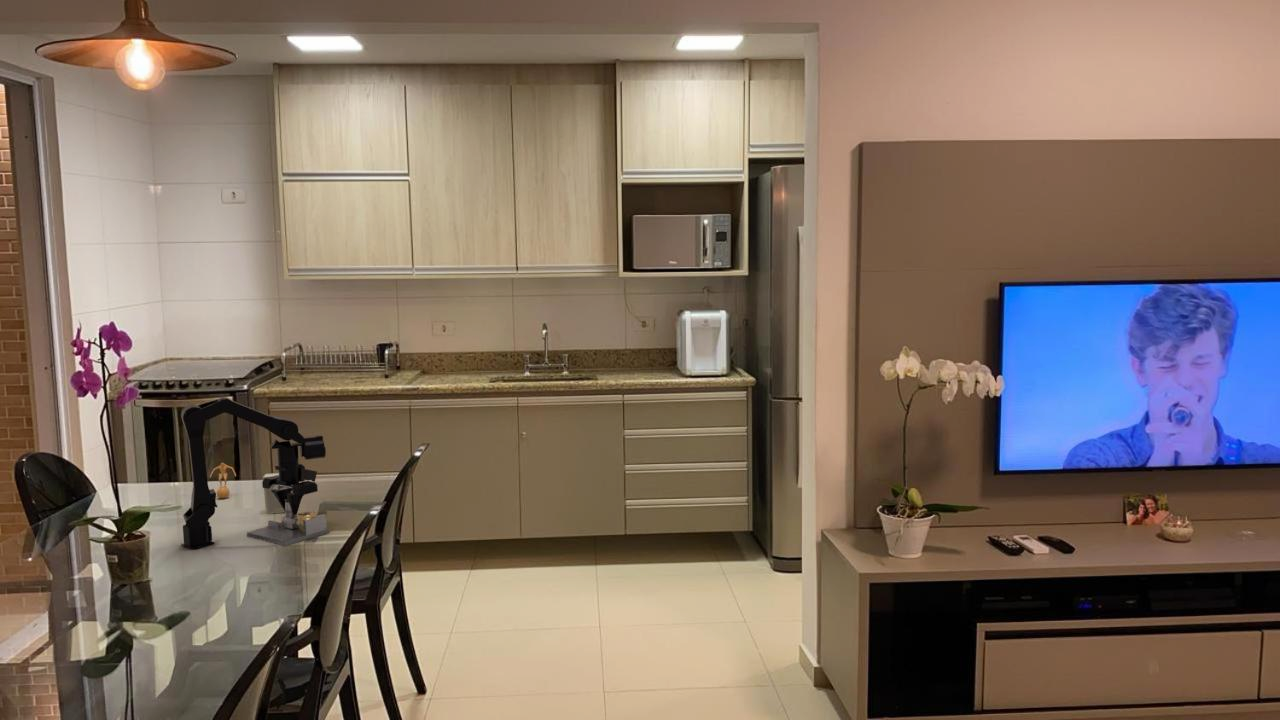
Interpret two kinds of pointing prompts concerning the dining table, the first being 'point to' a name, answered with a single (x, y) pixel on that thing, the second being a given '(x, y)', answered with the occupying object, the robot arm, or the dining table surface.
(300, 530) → the cylinder
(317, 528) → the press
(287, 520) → the ram
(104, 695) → the dining table surface
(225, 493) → the figurine
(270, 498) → the skincare box
